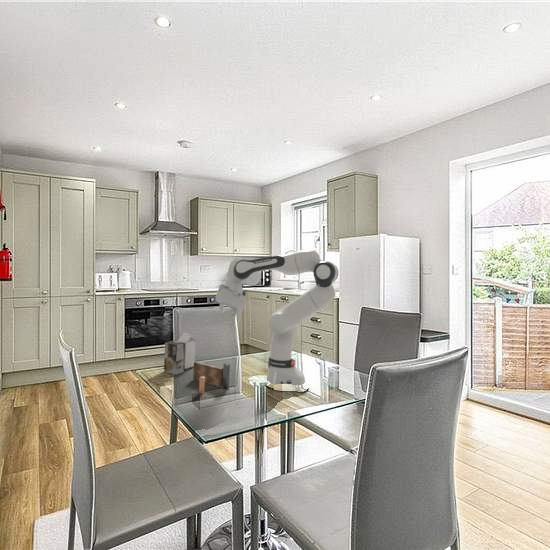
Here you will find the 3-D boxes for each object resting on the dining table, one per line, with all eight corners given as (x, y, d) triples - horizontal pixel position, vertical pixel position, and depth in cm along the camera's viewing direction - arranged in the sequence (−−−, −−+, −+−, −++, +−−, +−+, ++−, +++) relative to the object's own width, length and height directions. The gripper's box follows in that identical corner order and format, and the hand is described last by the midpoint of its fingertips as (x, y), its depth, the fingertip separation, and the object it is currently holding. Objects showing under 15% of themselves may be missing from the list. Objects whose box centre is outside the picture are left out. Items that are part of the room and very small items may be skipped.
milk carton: (184, 369, 222) (186, 335, 221) (176, 366, 227) (177, 333, 226) (194, 367, 228) (196, 333, 227) (186, 364, 232) (187, 331, 231)
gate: (223, 385, 198) (224, 368, 197) (220, 386, 196) (221, 369, 196) (195, 378, 207) (196, 361, 206) (193, 379, 205) (193, 362, 205)
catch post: (205, 392, 189) (205, 376, 188) (203, 394, 186) (203, 378, 186) (200, 391, 189) (200, 376, 189) (198, 393, 187) (199, 377, 186)
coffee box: (184, 372, 217) (185, 342, 216) (175, 375, 212) (177, 344, 211) (172, 368, 222) (173, 340, 221) (163, 371, 216) (164, 342, 216)
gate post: (229, 387, 197) (230, 363, 197) (227, 389, 194) (228, 365, 193) (223, 386, 198) (224, 362, 197) (221, 389, 195) (222, 364, 194)
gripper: (225, 282, 199) (219, 309, 195) (248, 295, 216) (243, 320, 211) (215, 283, 203) (210, 309, 199) (239, 295, 219) (234, 319, 215)
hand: (227, 315), depth 205 cm, fingers open, 8 cm apart
